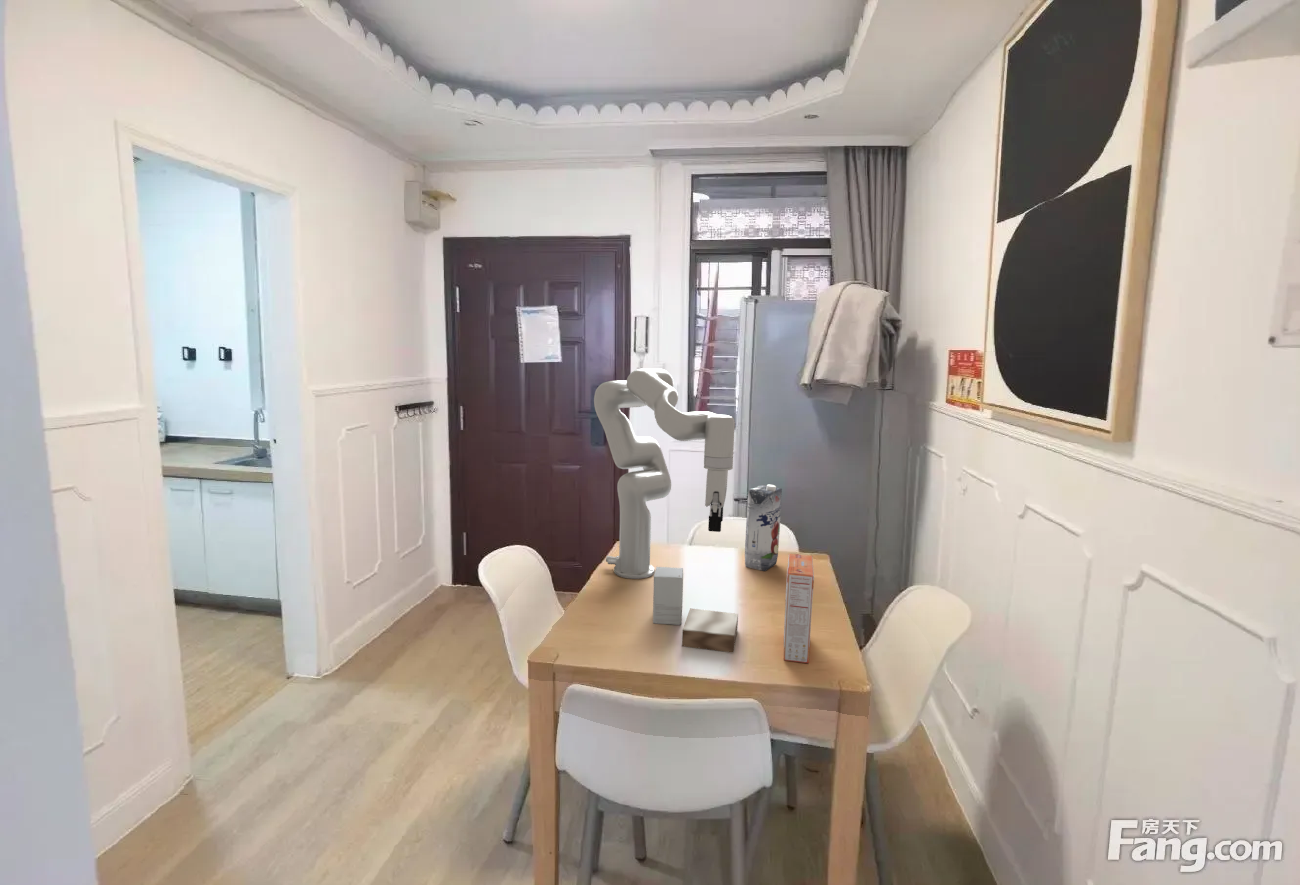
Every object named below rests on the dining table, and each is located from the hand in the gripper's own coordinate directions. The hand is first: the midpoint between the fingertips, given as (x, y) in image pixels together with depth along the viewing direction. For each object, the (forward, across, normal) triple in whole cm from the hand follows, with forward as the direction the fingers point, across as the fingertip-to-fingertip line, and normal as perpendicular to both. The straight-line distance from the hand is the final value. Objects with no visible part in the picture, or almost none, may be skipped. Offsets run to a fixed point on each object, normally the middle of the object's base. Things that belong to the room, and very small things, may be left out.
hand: (715, 526), depth 165 cm
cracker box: (+23, +19, +21) cm, 36 cm away
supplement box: (+23, +10, -11) cm, 27 cm away
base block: (+23, +18, +1) cm, 29 cm away
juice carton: (+23, -36, +13) cm, 45 cm away
